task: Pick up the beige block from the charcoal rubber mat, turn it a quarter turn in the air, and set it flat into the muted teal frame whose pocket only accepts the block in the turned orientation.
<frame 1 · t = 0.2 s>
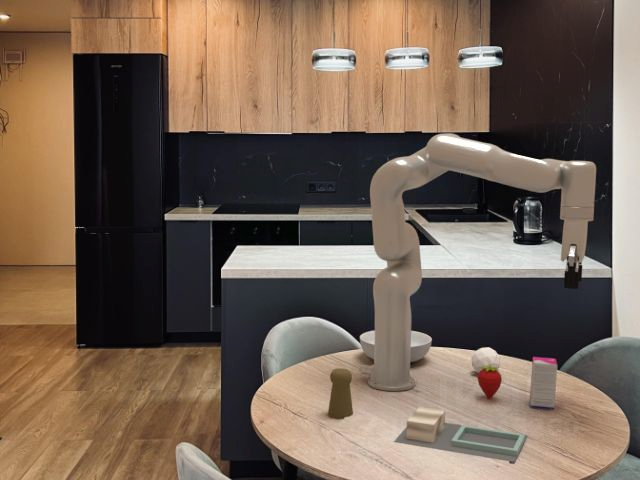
hand: (572, 284, 204), 31 cm above the table, tool pointing down, fingers open, 9 cm apart
beige block: (425, 432, 190), resting on charcoal mat
geometric ball: (485, 375, 235), on the table
serving bowl: (395, 360, 248), on the table
teal frame: (488, 444, 185), resting on charcoal mat
supplement box: (541, 405, 211), on the table
strawberry: (488, 399, 215), on the table
cork: (340, 415, 202), on the table
charcoal mat: (461, 440, 187), on the table
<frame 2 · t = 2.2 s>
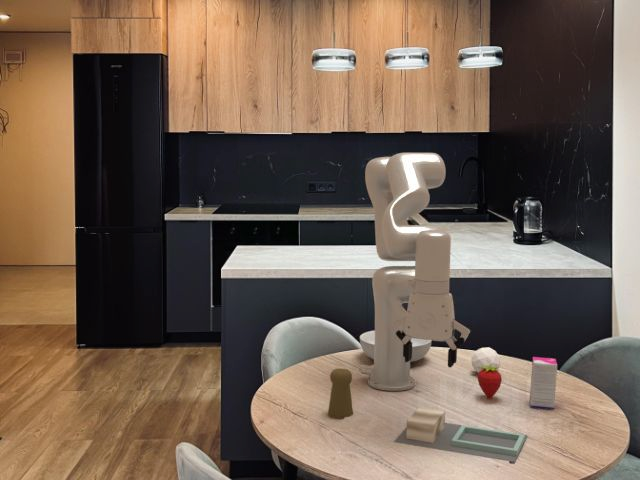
hand: (429, 363, 188), 16 cm above the table, tool pointing down, fingers open, 9 cm apart
nothing on the table moved.
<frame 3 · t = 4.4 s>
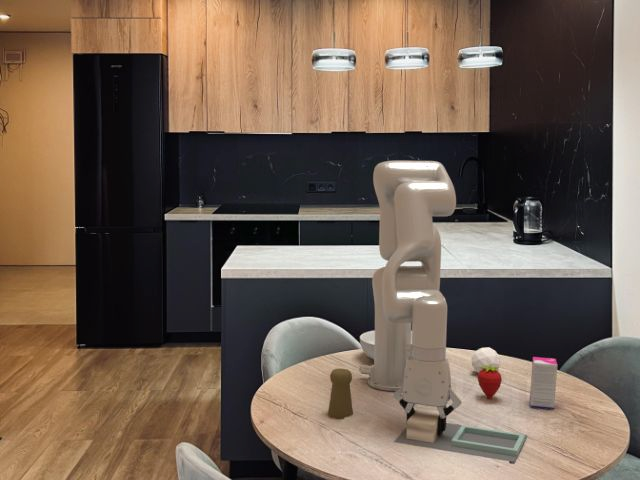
hand: (425, 430, 190), 1 cm above the table, tool pointing down, fingers closed on beige block, 6 cm apart
beige block: (425, 432, 190), resting on charcoal mat, touching gripper
everything else where it was.
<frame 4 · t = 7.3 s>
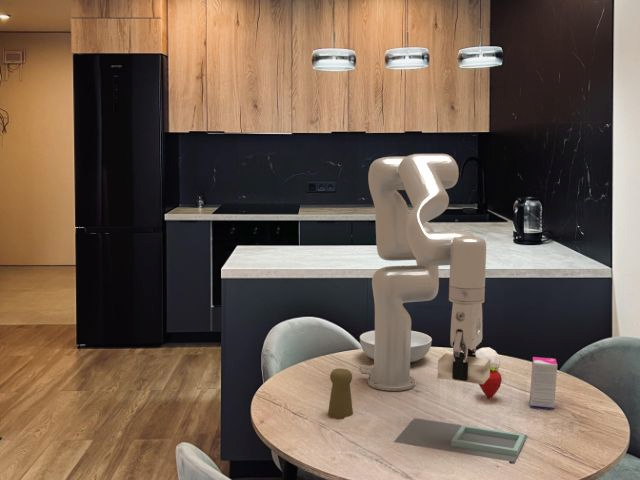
hand: (463, 374, 185), 15 cm above the table, tool pointing down, fingers closed on beige block, 6 cm apart
beige block: (463, 377, 185), point 14 cm above the table, touching gripper
everything else where it was.
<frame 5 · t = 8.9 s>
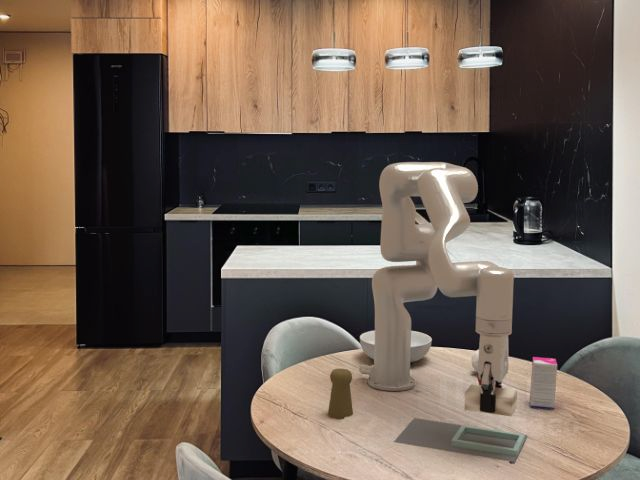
hand: (490, 406, 183), 9 cm above the table, tool pointing down, fingers closed on beige block, 6 cm apart
beige block: (490, 408, 183), point 8 cm above the table, touching gripper
everything else where it was.
when the fingers open (3 cm above the table, at t = 10.4 s): beige block drops 2 cm, resting on charcoal mat.
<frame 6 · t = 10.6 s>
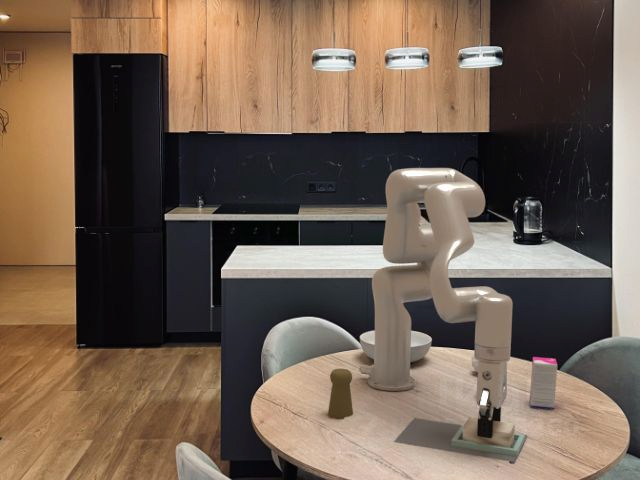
hand: (488, 429, 184), 3 cm above the table, tool pointing down, fingers open, 8 cm apart
beige block: (488, 442, 185), resting on charcoal mat
everything else where it was.
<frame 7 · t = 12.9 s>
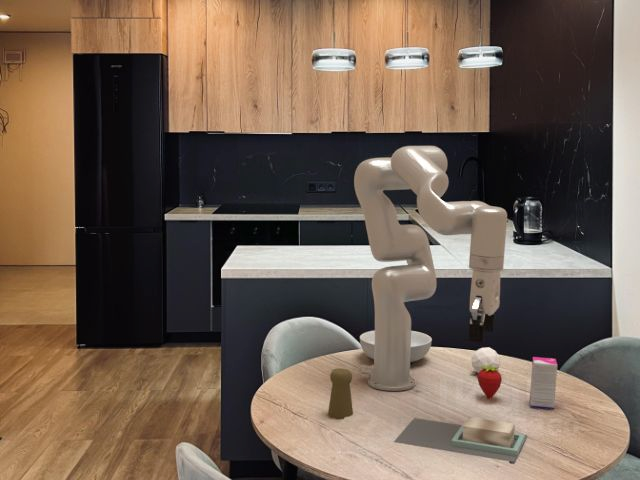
hand: (481, 336, 192), 21 cm above the table, tool pointing down, fingers open, 9 cm apart
nothing on the table moved.
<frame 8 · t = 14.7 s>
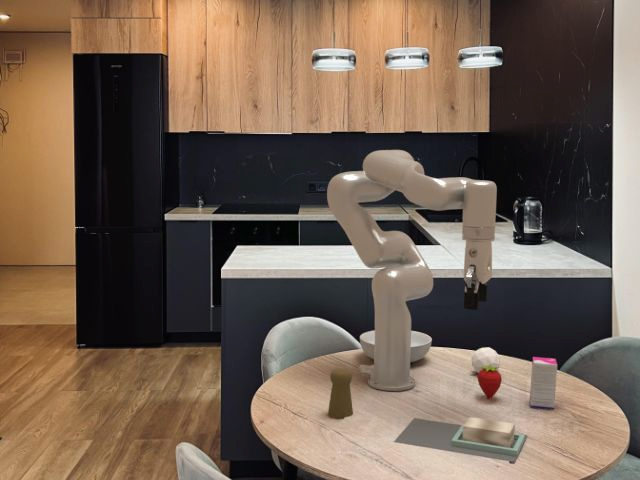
hand: (475, 305, 201), 26 cm above the table, tool pointing down, fingers open, 9 cm apart
nothing on the table moved.
at the end: beige block 0.1 cm off-centre on the teal frame, point 0.4 cm above the teal frame's base; beige block tilted 0°; the gripper is holding nothing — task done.
